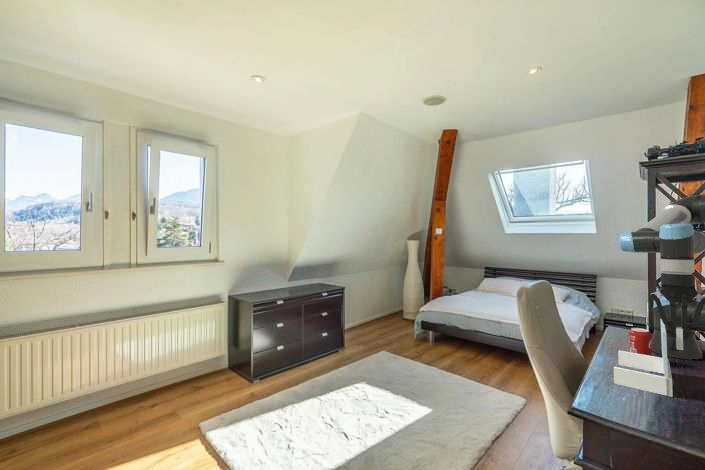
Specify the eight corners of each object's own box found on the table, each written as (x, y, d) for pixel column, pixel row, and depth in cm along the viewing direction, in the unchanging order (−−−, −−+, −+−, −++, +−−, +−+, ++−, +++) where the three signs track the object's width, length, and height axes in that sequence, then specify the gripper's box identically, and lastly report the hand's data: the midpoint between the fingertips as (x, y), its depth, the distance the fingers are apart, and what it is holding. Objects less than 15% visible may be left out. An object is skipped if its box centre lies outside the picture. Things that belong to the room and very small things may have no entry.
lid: (662, 356, 110) (665, 357, 110) (664, 376, 94) (668, 377, 94) (660, 318, 110) (663, 319, 110) (662, 332, 95) (666, 332, 94)
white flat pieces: (669, 373, 109) (668, 358, 109) (672, 396, 93) (672, 379, 93) (618, 363, 118) (618, 350, 118) (613, 383, 102) (613, 367, 102)
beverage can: (656, 365, 116) (655, 332, 116) (636, 364, 117) (635, 331, 118) (644, 359, 122) (644, 327, 123) (625, 358, 124) (625, 327, 124)
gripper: (706, 273, 99) (708, 350, 98) (649, 271, 107) (651, 341, 107) (709, 275, 93) (712, 356, 93) (649, 272, 102) (651, 347, 101)
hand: (679, 348), depth 100 cm, fingers closed
